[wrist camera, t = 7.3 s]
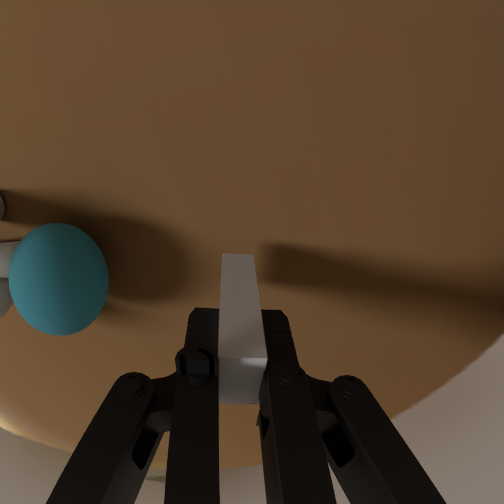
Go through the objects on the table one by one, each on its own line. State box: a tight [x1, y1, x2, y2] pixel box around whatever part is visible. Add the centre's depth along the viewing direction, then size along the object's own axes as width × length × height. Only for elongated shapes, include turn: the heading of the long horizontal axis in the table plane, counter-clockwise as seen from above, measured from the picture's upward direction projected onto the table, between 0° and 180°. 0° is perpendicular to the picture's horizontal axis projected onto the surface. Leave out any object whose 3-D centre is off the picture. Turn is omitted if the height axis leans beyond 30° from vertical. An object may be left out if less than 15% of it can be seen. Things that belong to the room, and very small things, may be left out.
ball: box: [8, 223, 109, 336], centre depth 13 cm, size 6×6×6 cm
